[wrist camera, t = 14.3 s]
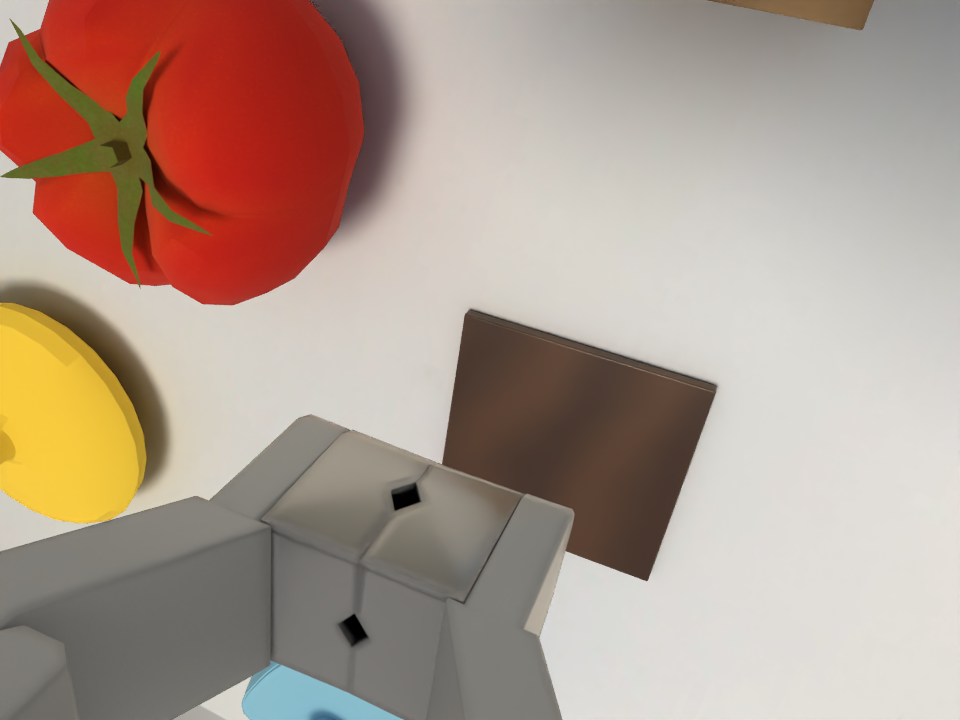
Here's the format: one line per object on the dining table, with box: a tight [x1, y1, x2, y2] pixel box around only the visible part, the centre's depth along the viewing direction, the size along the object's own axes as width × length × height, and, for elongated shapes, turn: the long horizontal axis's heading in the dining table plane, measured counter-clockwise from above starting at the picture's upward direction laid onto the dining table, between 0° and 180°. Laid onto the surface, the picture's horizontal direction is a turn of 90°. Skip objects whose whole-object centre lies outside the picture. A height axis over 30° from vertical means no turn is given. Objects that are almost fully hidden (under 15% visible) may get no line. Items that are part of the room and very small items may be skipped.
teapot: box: [242, 661, 403, 720], centre depth 44 cm, size 12×18×12 cm
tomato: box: [0, 0, 364, 305], centre depth 32 cm, size 13×14×12 cm
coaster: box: [442, 310, 717, 581], centre depth 40 cm, size 12×12×1 cm
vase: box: [0, 303, 147, 523], centre depth 49 cm, size 16×16×7 cm
